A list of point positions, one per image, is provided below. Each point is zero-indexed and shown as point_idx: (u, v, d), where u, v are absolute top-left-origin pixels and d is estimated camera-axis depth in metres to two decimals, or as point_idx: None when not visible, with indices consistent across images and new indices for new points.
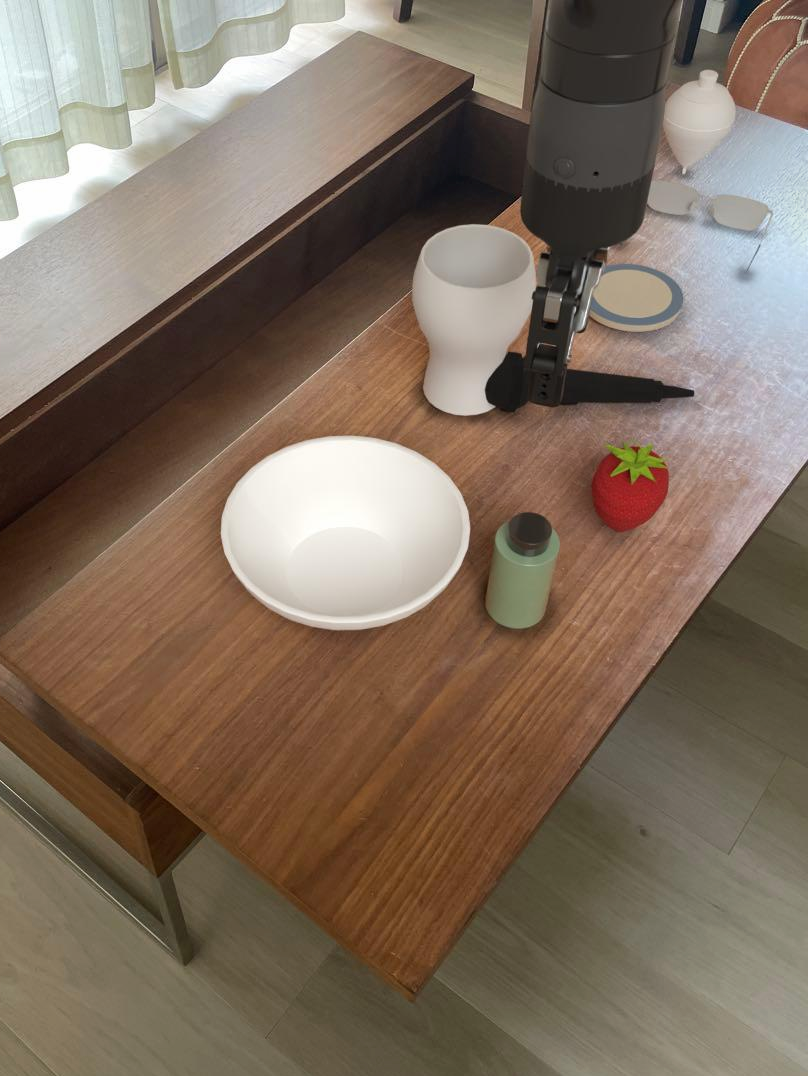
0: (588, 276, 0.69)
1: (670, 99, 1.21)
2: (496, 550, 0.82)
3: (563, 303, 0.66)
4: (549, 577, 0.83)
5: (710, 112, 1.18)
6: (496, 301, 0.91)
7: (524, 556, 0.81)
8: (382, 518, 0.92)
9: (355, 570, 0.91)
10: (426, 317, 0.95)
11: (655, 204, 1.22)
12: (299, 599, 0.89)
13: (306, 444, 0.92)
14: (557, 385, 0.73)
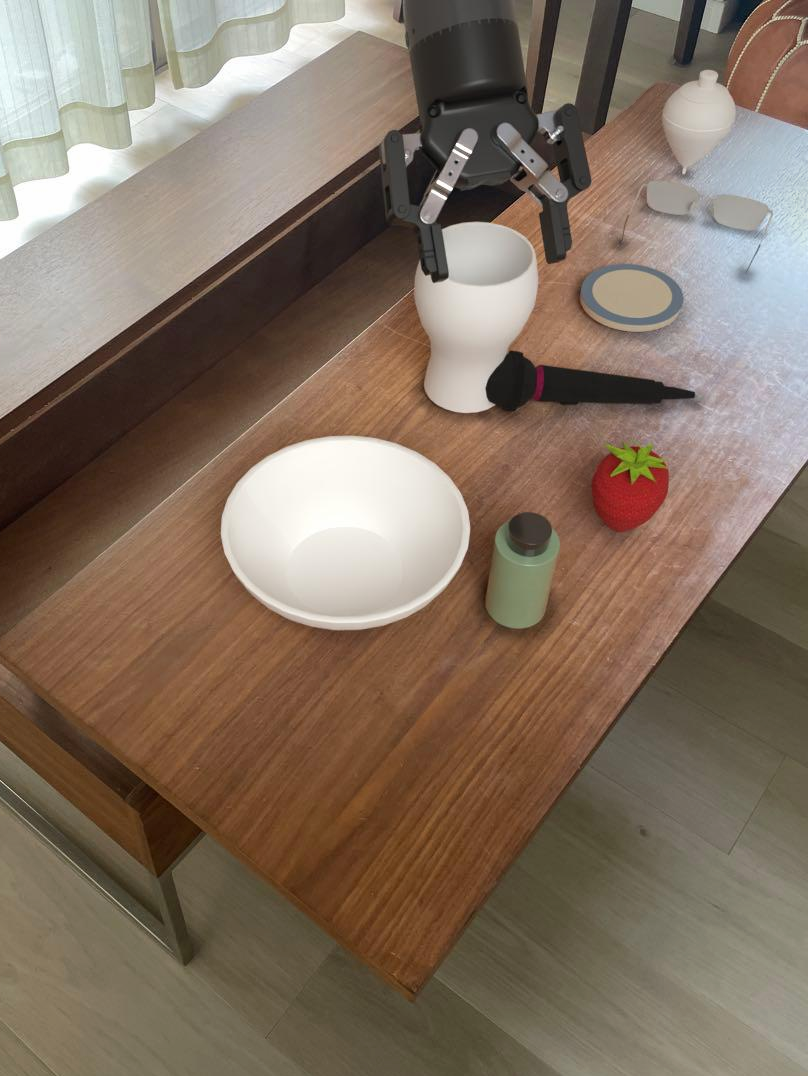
0: (455, 142, 0.75)
1: (670, 99, 1.21)
2: (496, 550, 0.82)
3: (384, 139, 0.75)
4: (549, 577, 0.83)
5: (710, 112, 1.18)
6: (498, 299, 0.91)
7: (524, 556, 0.81)
8: (382, 518, 0.92)
9: (355, 570, 0.91)
10: (428, 314, 0.95)
11: (655, 204, 1.22)
12: (299, 599, 0.89)
13: (306, 444, 0.92)
14: (434, 251, 0.76)
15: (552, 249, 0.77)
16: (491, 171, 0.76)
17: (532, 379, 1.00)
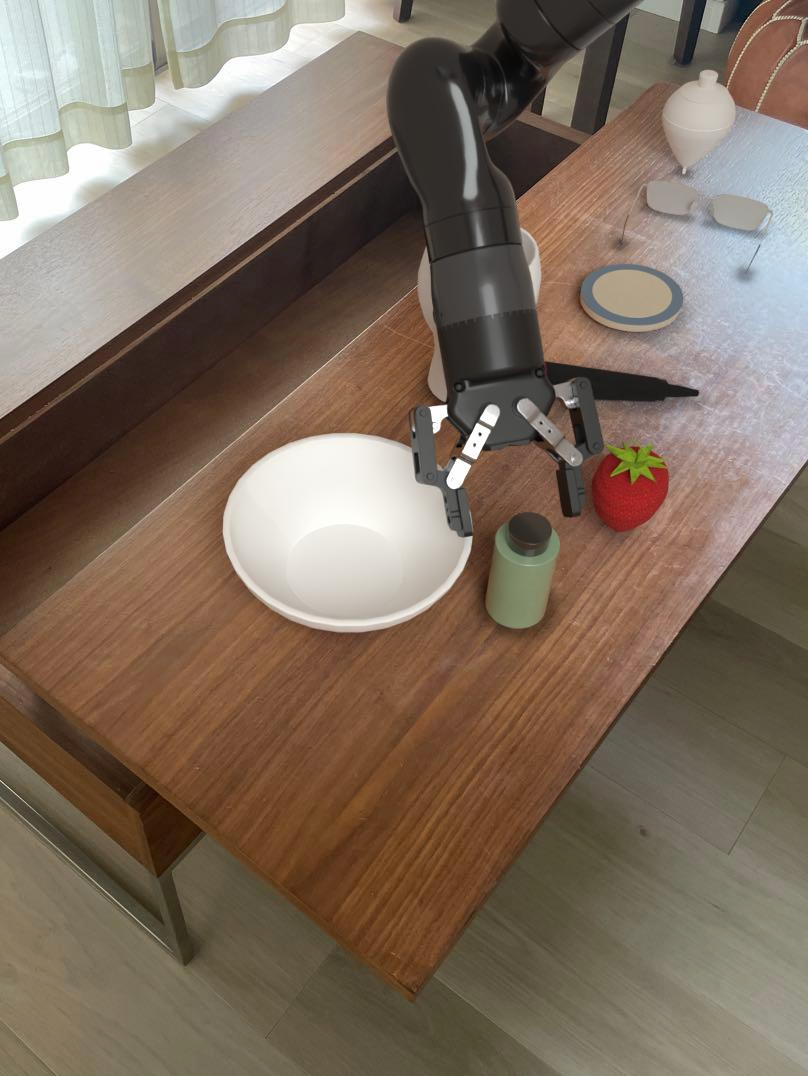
0: (479, 415, 0.82)
1: (670, 99, 1.21)
2: (496, 550, 0.82)
3: (413, 412, 0.82)
4: (549, 577, 0.83)
5: (710, 112, 1.18)
6: None
7: (524, 556, 0.81)
8: (383, 517, 0.92)
9: (355, 569, 0.90)
10: (430, 308, 0.95)
11: (655, 204, 1.22)
12: (299, 598, 0.89)
13: (308, 441, 0.91)
14: (459, 512, 0.83)
15: (567, 506, 0.84)
16: (512, 439, 0.82)
17: None
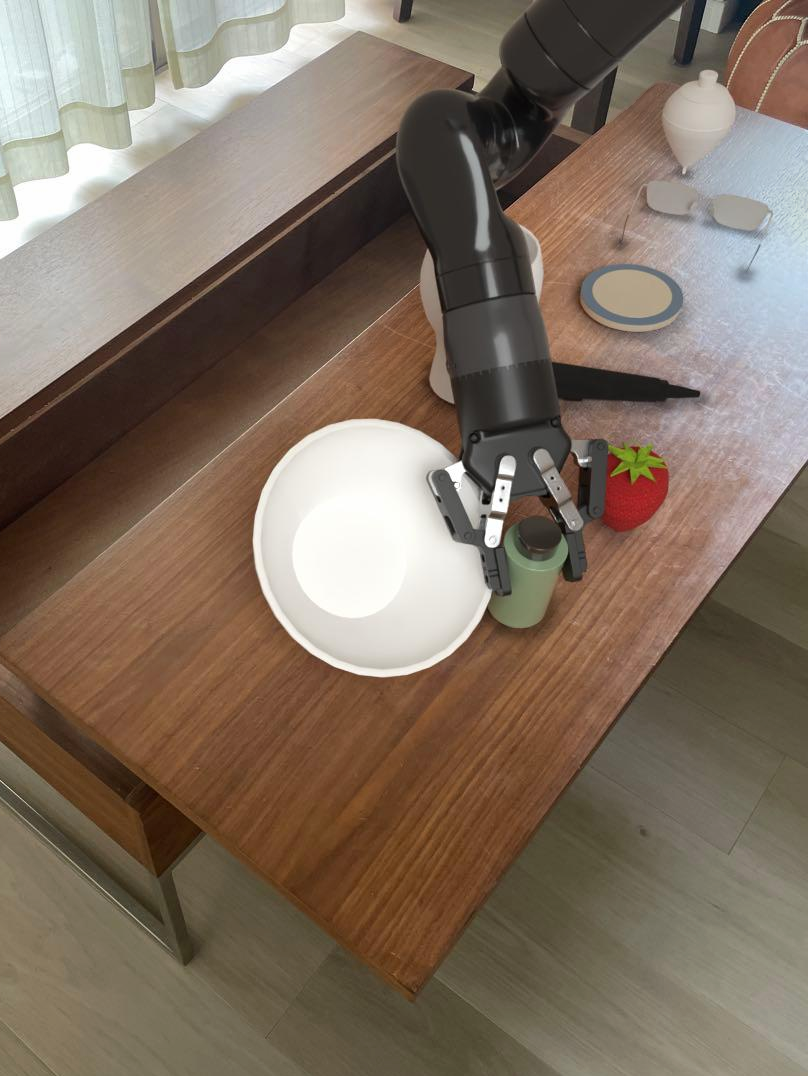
0: (495, 466, 0.81)
1: (670, 99, 1.21)
2: None
3: (432, 478, 0.81)
4: (554, 581, 0.83)
5: (710, 112, 1.18)
6: None
7: (532, 560, 0.81)
8: (398, 505, 0.88)
9: (360, 559, 0.87)
10: (432, 307, 0.95)
11: (655, 204, 1.22)
12: (303, 587, 0.86)
13: (349, 426, 0.82)
14: (497, 571, 0.82)
15: (568, 570, 0.83)
16: (528, 490, 0.81)
17: None
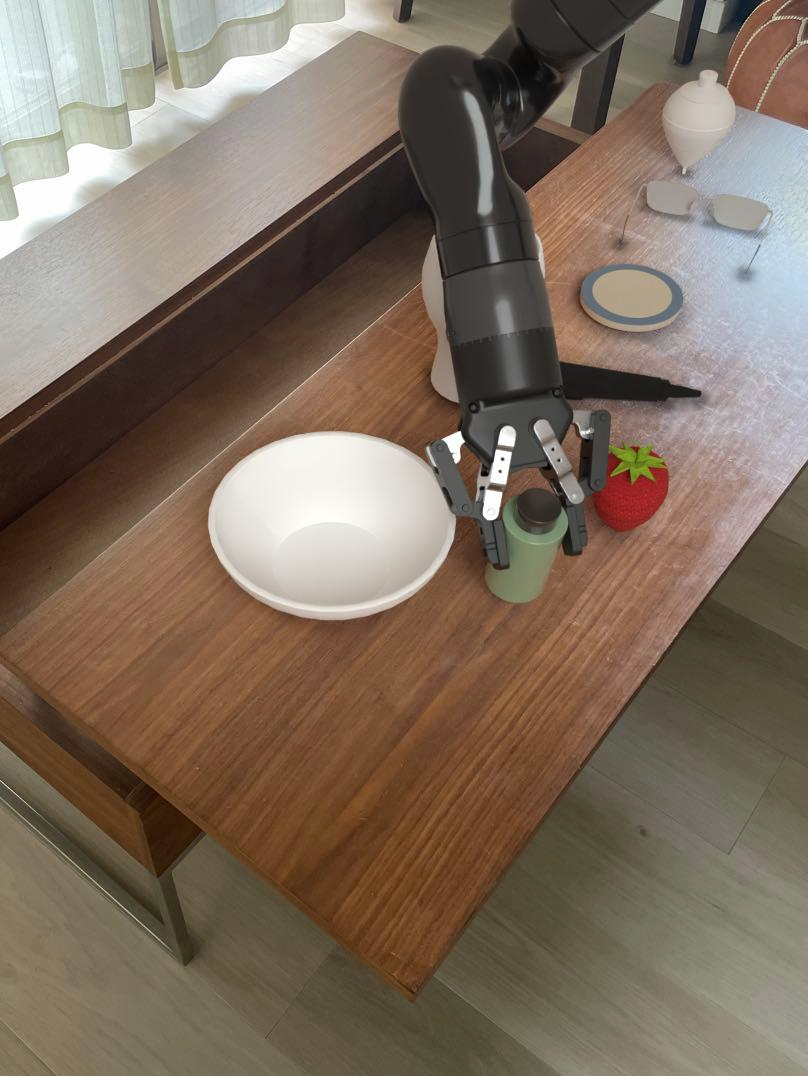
0: (494, 436, 0.79)
1: (670, 99, 1.21)
2: None
3: (429, 449, 0.79)
4: (553, 556, 0.81)
5: (710, 112, 1.18)
6: None
7: (531, 533, 0.79)
8: (369, 513, 0.93)
9: (342, 564, 0.91)
10: (433, 304, 0.95)
11: (655, 204, 1.22)
12: (286, 592, 0.89)
13: (293, 439, 0.92)
14: (495, 544, 0.80)
15: (568, 544, 0.81)
16: (528, 462, 0.80)
17: None
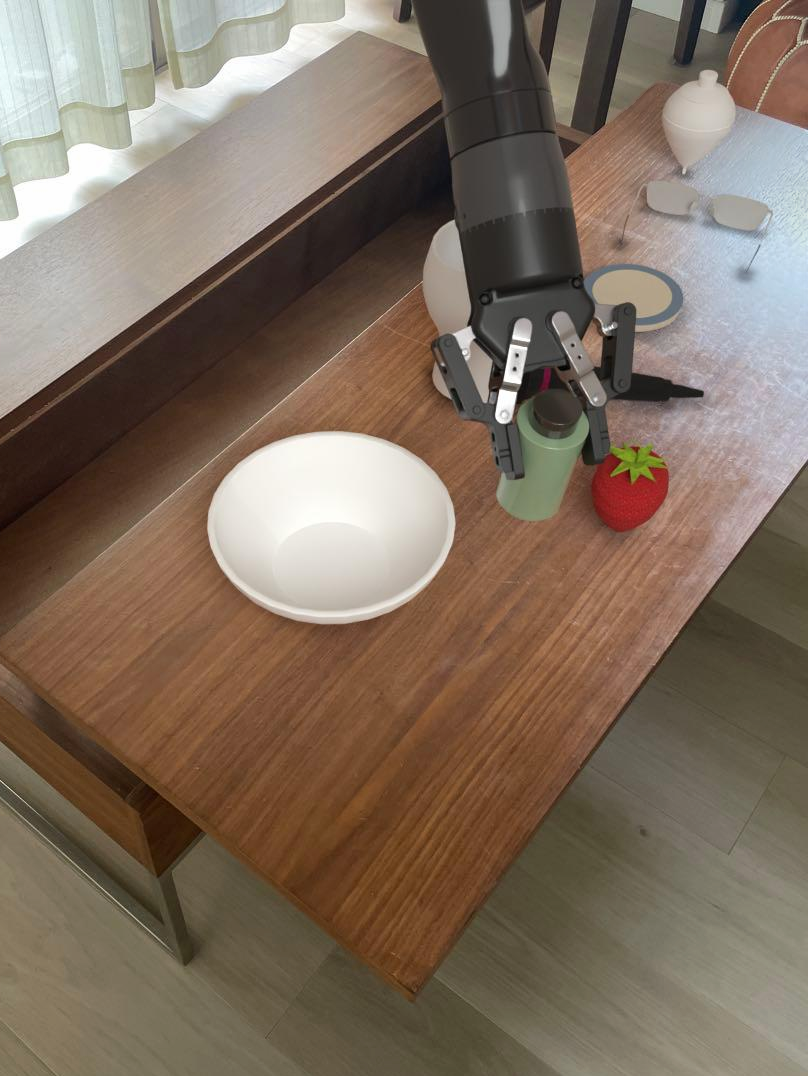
0: (508, 331, 0.72)
1: (670, 99, 1.21)
2: None
3: (437, 345, 0.72)
4: (572, 465, 0.74)
5: (710, 112, 1.18)
6: None
7: (548, 438, 0.72)
8: (369, 513, 0.93)
9: (342, 565, 0.91)
10: (434, 304, 0.95)
11: (655, 204, 1.22)
12: (285, 594, 0.89)
13: (293, 439, 0.92)
14: (509, 451, 0.73)
15: (589, 452, 0.74)
16: (545, 359, 0.72)
17: (539, 372, 1.00)
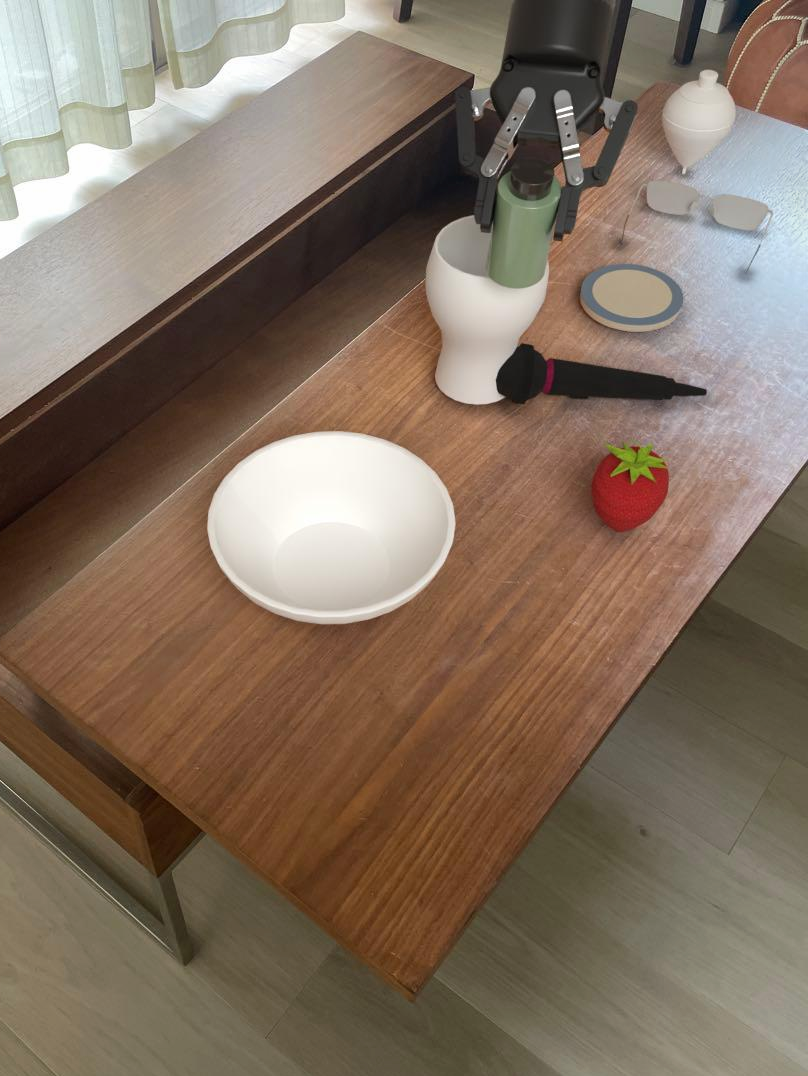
0: (516, 97, 0.82)
1: (670, 99, 1.21)
2: None
3: None
4: (537, 232, 0.84)
5: (710, 112, 1.18)
6: (506, 290, 0.92)
7: (516, 196, 0.82)
8: (369, 513, 0.93)
9: (342, 565, 0.91)
10: (437, 304, 0.95)
11: (655, 204, 1.22)
12: (285, 594, 0.89)
13: (293, 439, 0.92)
14: (484, 202, 0.84)
15: None
16: (541, 132, 0.82)
17: (542, 372, 1.00)
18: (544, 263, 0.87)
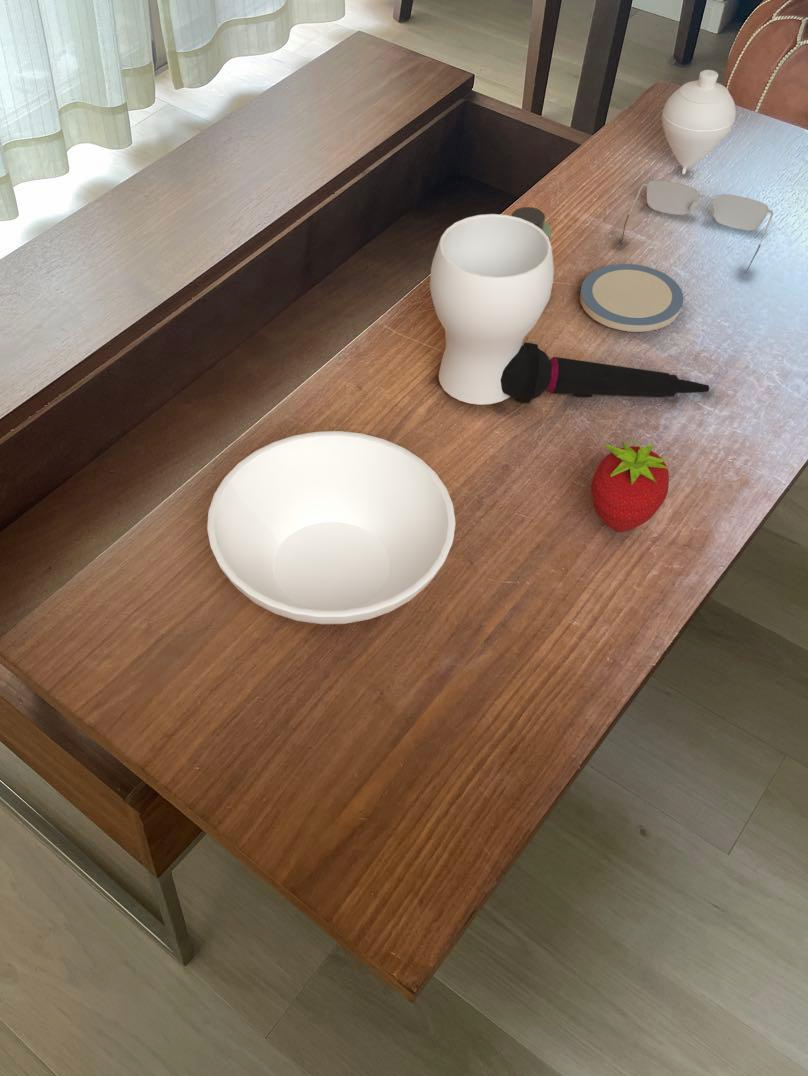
0: None
1: (670, 99, 1.21)
2: None
3: None
4: None
5: (710, 112, 1.18)
6: (513, 290, 0.92)
7: None
8: (369, 513, 0.93)
9: (342, 565, 0.91)
10: (443, 305, 0.95)
11: (655, 204, 1.22)
12: (285, 594, 0.89)
13: (293, 439, 0.92)
14: None
15: None
16: None
17: (547, 371, 1.00)
18: None
